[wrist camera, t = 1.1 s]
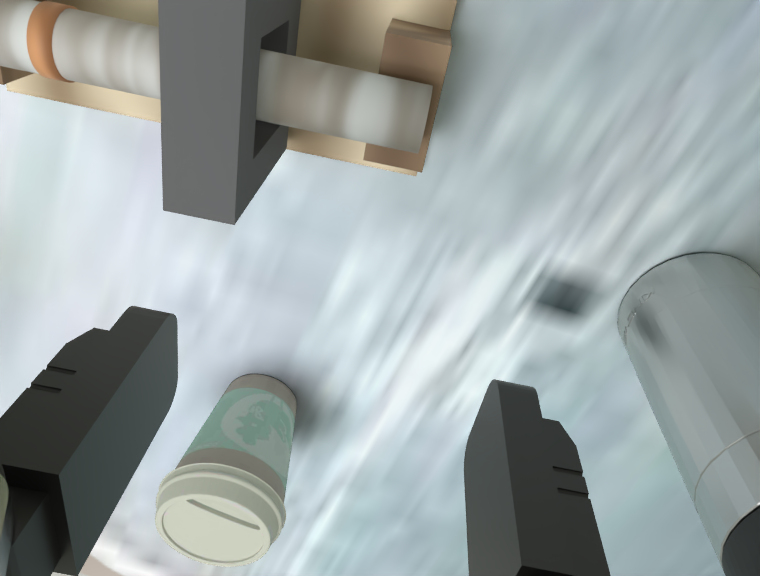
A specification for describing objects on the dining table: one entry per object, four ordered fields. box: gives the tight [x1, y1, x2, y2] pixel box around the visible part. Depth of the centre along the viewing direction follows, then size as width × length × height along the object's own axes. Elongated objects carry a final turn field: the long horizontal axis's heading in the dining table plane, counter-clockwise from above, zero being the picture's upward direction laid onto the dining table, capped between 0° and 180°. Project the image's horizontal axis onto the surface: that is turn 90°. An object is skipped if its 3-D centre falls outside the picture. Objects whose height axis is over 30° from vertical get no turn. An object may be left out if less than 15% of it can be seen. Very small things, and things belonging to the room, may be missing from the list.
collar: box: [158, 0, 301, 225], centre depth 26 cm, size 3×9×10 cm, turn 169°
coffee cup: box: [155, 374, 297, 567], centre depth 41 cm, size 8×8×12 cm
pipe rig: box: [0, 0, 457, 176], centre depth 28 cm, size 24×10×9 cm, turn 79°
